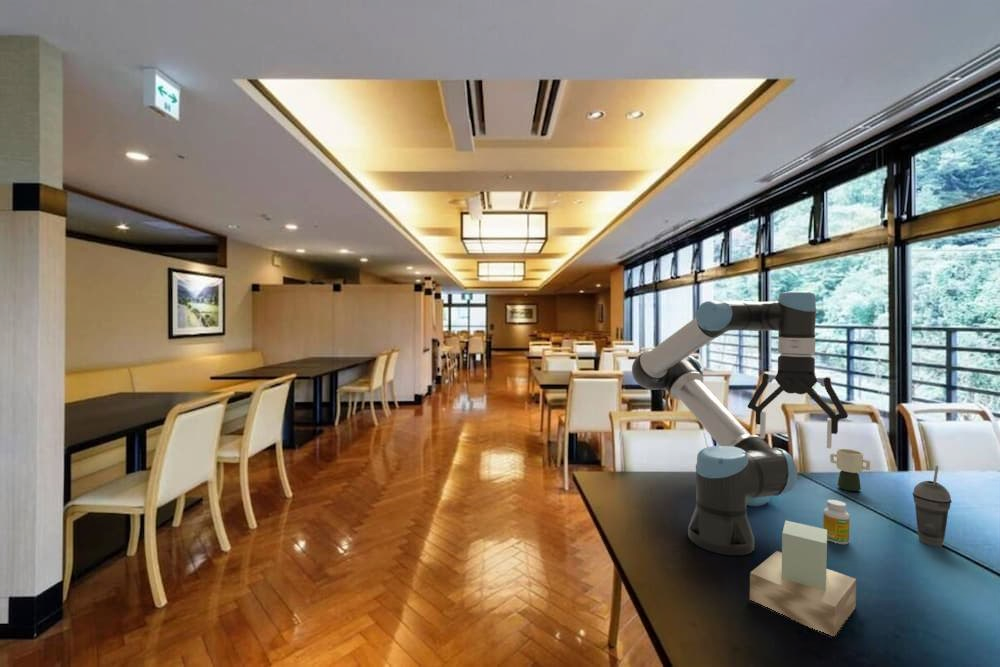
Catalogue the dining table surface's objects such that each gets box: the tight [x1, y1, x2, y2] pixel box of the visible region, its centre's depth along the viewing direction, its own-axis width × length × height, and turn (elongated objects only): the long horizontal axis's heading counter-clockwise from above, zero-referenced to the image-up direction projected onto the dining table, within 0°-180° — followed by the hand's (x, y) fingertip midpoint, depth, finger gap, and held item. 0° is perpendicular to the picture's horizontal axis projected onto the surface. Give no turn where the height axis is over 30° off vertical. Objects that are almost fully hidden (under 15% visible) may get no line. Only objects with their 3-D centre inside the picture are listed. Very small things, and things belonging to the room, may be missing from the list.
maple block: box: [749, 550, 857, 636], centre depth 89 cm, size 14×14×6 cm
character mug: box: [829, 448, 871, 492], centre depth 152 cm, size 11×7×13 cm, turn 39°
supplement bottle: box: [822, 499, 851, 545], centre depth 116 cm, size 5×5×10 cm
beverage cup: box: [912, 465, 952, 548], centre depth 115 cm, size 7×7×20 cm
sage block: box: [781, 519, 828, 591], centre depth 88 cm, size 7×7×9 cm
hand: (794, 442), depth 110 cm, fingers open, 13 cm apart
